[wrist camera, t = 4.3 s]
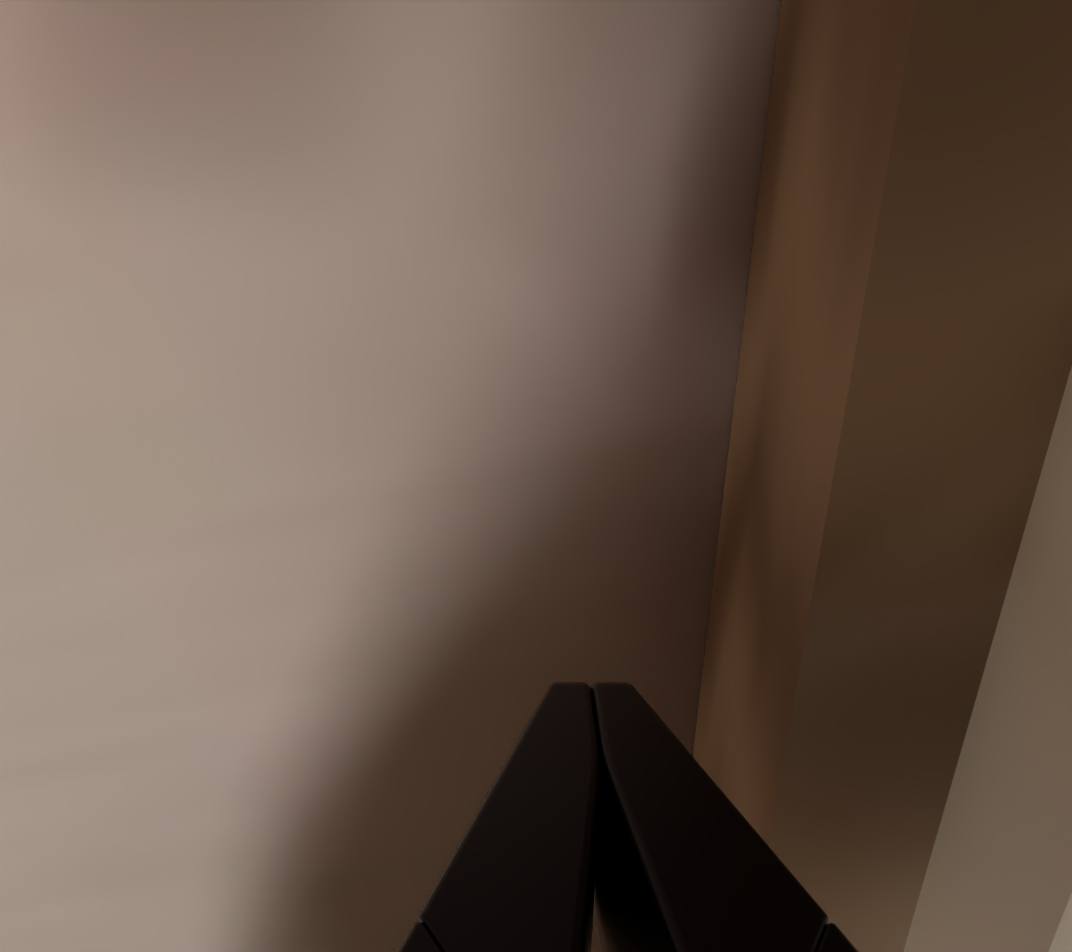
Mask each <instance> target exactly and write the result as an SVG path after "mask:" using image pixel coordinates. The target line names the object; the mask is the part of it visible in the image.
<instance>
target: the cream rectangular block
mask: <svg viewBox="0 0 1072 952" xmlns="http://www.w3.org/2000/svg"><path fill="white" fill-rule="evenodd" d="M903 952H1072V367H1071V370H1070V374H1069V377H1068V380H1067V384H1066V387H1065V391H1064V394H1063V398H1062V401H1061V405H1060V408H1059V412H1058V415H1057V419H1056V422H1055V426H1054V429H1053V433H1052V436H1051V440H1050V443H1049V447H1048V450H1047V454H1046V457H1045V461H1044V464H1043V467H1042V471H1041V474H1040V478H1039V481H1038V485H1037V488H1036V492H1035V495H1034V499H1033V502H1032V506H1031V509H1030V513H1029V516H1028V520H1027V523H1026V527H1025V530H1024V534H1023V537H1022V541H1021V544H1020V547H1019V551H1018V554H1017V558H1016V561H1015V565H1014V568H1013V572H1012V575H1011V579H1010V582H1009V586H1008V589H1007V593H1006V596H1005V600H1004V603H1003V607H1002V610H1001V614H1000V617H999V621H998V624H997V628H996V631H995V634H994V638H993V641H992V645H991V648H990V652H989V655H988V659H987V662H986V666H985V669H984V673H983V676H982V680H981V683H980V687H979V690H978V694H977V697H976V701H975V704H974V708H973V711H972V714H971V718H970V721H969V725H968V728H967V732H966V735H965V739H964V742H963V746H962V749H961V753H960V756H959V760H958V763H957V767H956V770H955V774H954V777H953V781H952V784H951V788H950V791H949V795H948V798H947V801H946V805H945V808H944V812H943V815H942V819H941V822H940V826H939V829H938V833H937V836H936V840H935V843H934V847H933V850H932V854H931V857H930V861H929V864H928V868H927V871H926V875H925V878H924V881H923V885H922V888H921V892H920V895H919V899H918V902H917V906H916V909H915V913H914V916H913V920H912V923H911V927H910V930H909V934H908V937H907V941H906V944H905V948H904V951H903Z"/></svg>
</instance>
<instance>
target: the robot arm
mask: <svg viewBox="0 0 1072 952" xmlns="http://www.w3.org/2000/svg"><path fill="white" fill-rule="evenodd" d="M594 892H595V905H596V912H597V919H598V926H599V933H600V939H601V945H602V951H603V952H858V950H857V949H856V948H855V947H854V946H853V944H852V943H851V942H850V941H849V940H848V939H847V937H846V936H845V935H844V934H843V933H842V931H841V930H840V929H839V928H838V927H837V926H836V925H835V924H834V923H829V924H828V922H829V918H828V916H827V914H826V913H825V912H824V911H823V910H822V908H821V907H820V906H819V905H818V904H817V902H816V901H815V900H814V899H813V898H812V897H811V895H810V894H809V893H808V892H807V891H806V889H805V888H804V887H803V886H802V885H801V884H800V882H799V881H798V880H797V879H796V878H795V877H794V875H793V874H792V873H791V872H790V871H789V869H788V868H787V867H786V866H785V865H784V864H783V862H782V861H781V860H780V859H779V858H778V856H777V855H776V854H775V853H774V852H773V851H772V849H771V848H770V847H769V846H768V845H767V844H766V842H765V841H764V840H763V839H762V838H761V836H760V835H759V834H758V833H757V832H756V831H755V829H754V828H753V827H752V826H751V825H750V823H749V822H748V821H747V820H746V819H745V818H744V816H743V815H742V814H741V813H740V812H739V811H738V809H737V808H736V807H735V806H734V805H733V803H732V802H731V801H730V800H729V799H728V798H727V796H726V795H725V794H724V793H723V792H722V790H721V789H720V788H719V787H718V786H717V785H716V783H715V782H714V781H713V780H712V779H711V778H710V776H709V775H708V774H707V773H706V772H705V770H704V769H703V768H702V767H701V766H700V765H699V763H698V762H697V761H696V760H695V759H694V757H693V756H692V755H691V754H690V753H689V752H688V750H687V749H686V748H685V747H684V746H683V745H682V743H681V742H680V741H679V740H678V739H677V737H676V736H675V735H674V734H673V733H672V732H671V730H670V729H669V728H668V727H667V726H666V724H665V723H664V722H663V721H662V720H661V719H660V717H659V716H658V715H657V714H656V713H655V712H654V710H653V709H652V708H651V707H650V706H649V704H648V703H647V702H646V701H645V700H644V699H643V697H642V696H641V695H640V694H639V693H638V691H637V690H636V689H635V688H634V687H633V686H632V685H631V684H629V683H625V682H597V683H594V684H593V685H592V687H591V688H590V686H589V685H588V684H587V683H585V682H554V683H552V684H551V685H550V686H549V687H548V689H547V691H546V692H545V694H544V696H543V698H542V699H541V701H540V703H539V705H538V706H537V708H536V710H535V712H534V713H533V715H532V717H531V719H530V720H529V722H528V724H527V726H526V727H525V729H524V731H523V733H522V734H521V736H520V738H519V740H518V742H517V743H516V745H515V747H514V749H513V750H512V752H511V754H510V756H509V757H508V759H507V761H506V763H505V764H504V766H503V768H502V770H501V771H500V773H499V775H498V777H497V778H496V780H495V782H494V784H493V785H492V787H491V789H490V791H489V792H488V794H487V796H486V798H485V799H484V801H483V803H482V805H481V806H480V808H479V810H478V812H477V813H476V815H475V817H474V819H473V820H472V822H471V824H470V826H469V827H468V829H467V831H466V833H465V834H464V836H463V838H462V840H461V841H460V843H459V845H458V847H457V848H456V850H455V852H454V854H453V856H452V857H451V859H450V861H449V863H448V864H447V866H446V868H445V870H444V871H443V873H442V875H441V877H440V878H439V880H438V882H437V884H436V885H435V887H434V889H433V891H432V892H431V894H430V896H429V898H428V899H427V901H426V903H425V905H424V906H423V908H422V910H421V912H420V913H419V915H418V922H415V923H414V924H413V925H412V927H411V928H410V930H409V932H408V934H407V935H406V937H405V939H404V941H403V942H402V944H401V946H400V948H399V949H398V951H397V952H591V942H592V928H593V908H594Z"/></svg>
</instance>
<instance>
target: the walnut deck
mask: <svg viewBox="0 0 1072 952" xmlns="http://www.w3.org/2000/svg"><path fill="white" fill-rule="evenodd" d="M1071 367H1072V0H781V6H780V14H779V23H778V31H777V40H776V48H775V57H774V65H773V74H772V82H771V91H770V99H769V108H768V117H767V125H766V134H765V142H764V151H763V159H762V168H761V176H760V185H759V193H758V202H757V210H756V219H755V227H754V236H753V245H752V253H751V262H750V270H749V279H748V287H747V296H746V304H745V313H744V321H743V330H742V338H741V347H740V356H739V364H738V373H737V381H736V390H735V398H734V407H733V415H732V424H731V432H730V441H729V449H728V458H727V466H726V475H725V484H724V492H723V501H722V509H721V518H720V526H719V535H718V543H717V552H716V560H715V569H714V577H713V586H712V594H711V603H710V612H709V620H708V629H707V637H706V646H705V654H704V663H703V671H702V680H701V688H700V697H699V705H698V714H697V723H696V731H695V740H694V748H693V757H694V759H695V760H696V761H697V762H698V763H699V765H700V766H701V767H702V768H703V769H704V770H705V772H706V773H707V774H708V775H709V776H710V778H711V779H712V780H713V781H714V782H715V783H716V785H717V786H718V787H719V788H720V789H721V790H722V792H723V793H724V794H725V795H726V796H727V798H728V799H729V800H730V801H731V802H732V803H733V805H734V806H735V807H736V808H737V809H738V811H739V812H740V813H741V814H742V815H743V816H744V818H745V819H746V820H747V821H748V822H749V823H750V825H751V826H752V827H753V828H754V829H755V831H756V832H757V833H758V834H759V835H760V836H761V838H762V839H763V840H764V841H765V842H766V844H767V845H768V846H769V847H770V848H771V849H772V851H773V852H774V853H775V854H776V855H777V856H778V858H779V859H780V860H781V861H782V862H783V864H784V865H785V866H786V867H787V868H788V869H789V871H790V872H791V873H792V874H793V875H794V877H795V878H796V879H797V880H798V881H799V882H800V884H801V885H802V886H803V887H804V888H805V889H806V891H807V892H808V893H809V894H810V895H811V897H812V898H813V899H814V900H815V901H816V902H817V904H818V905H819V906H820V907H821V908H822V910H823V911H824V912H825V913H826V914H827V916H828V918H829V922H828V924H829V923H834V924H835V925H836V926H837V927H838V928H839V929H840V930H841V931H842V933H843V934H844V935H845V936H846V937H847V939H848V940H849V941H850V942H851V943H852V944H853V946H854V947H855V948H856V949H857V950H858V952H903V951H904V948H905V944H906V941H907V937H908V934H909V930H910V927H911V923H912V920H913V916H914V913H915V909H916V906H917V902H918V899H919V895H920V892H921V888H922V885H923V881H924V878H925V875H926V871H927V868H928V864H929V861H930V857H931V854H932V850H933V847H934V843H935V840H936V836H937V833H938V829H939V826H940V822H941V819H942V815H943V812H944V808H945V805H946V801H947V798H948V795H949V791H950V788H951V784H952V781H953V777H954V774H955V770H956V767H957V763H958V760H959V756H960V753H961V749H962V746H963V742H964V739H965V735H966V732H967V728H968V725H969V721H970V718H971V714H972V711H973V708H974V704H975V701H976V697H977V694H978V690H979V687H980V683H981V680H982V676H983V673H984V669H985V666H986V662H987V659H988V655H989V652H990V648H991V645H992V641H993V638H994V634H995V631H996V628H997V624H998V621H999V617H1000V614H1001V610H1002V607H1003V603H1004V600H1005V596H1006V593H1007V589H1008V586H1009V582H1010V579H1011V575H1012V572H1013V568H1014V565H1015V561H1016V558H1017V554H1018V551H1019V547H1020V544H1021V541H1022V537H1023V534H1024V530H1025V527H1026V523H1027V520H1028V516H1029V513H1030V509H1031V506H1032V502H1033V499H1034V495H1035V492H1036V488H1037V485H1038V481H1039V478H1040V474H1041V471H1042V467H1043V464H1044V461H1045V457H1046V454H1047V450H1048V447H1049V443H1050V440H1051V436H1052V433H1053V429H1054V426H1055V422H1056V419H1057V415H1058V412H1059V408H1060V405H1061V401H1062V398H1063V394H1064V391H1065V387H1066V384H1067V380H1068V377H1069V374H1070V370H1071Z"/></svg>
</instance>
